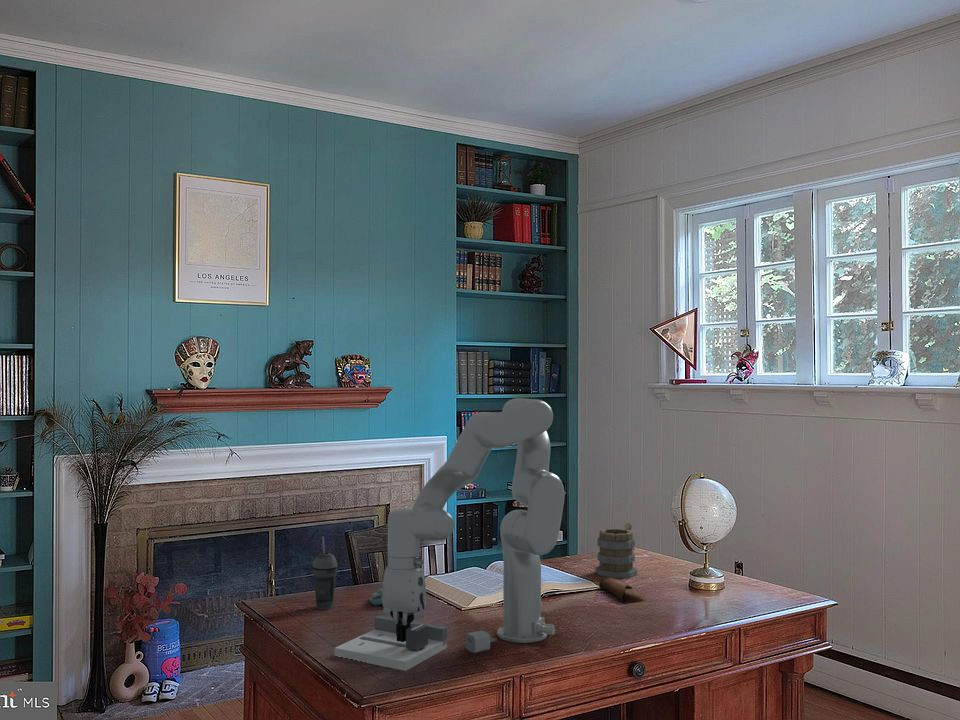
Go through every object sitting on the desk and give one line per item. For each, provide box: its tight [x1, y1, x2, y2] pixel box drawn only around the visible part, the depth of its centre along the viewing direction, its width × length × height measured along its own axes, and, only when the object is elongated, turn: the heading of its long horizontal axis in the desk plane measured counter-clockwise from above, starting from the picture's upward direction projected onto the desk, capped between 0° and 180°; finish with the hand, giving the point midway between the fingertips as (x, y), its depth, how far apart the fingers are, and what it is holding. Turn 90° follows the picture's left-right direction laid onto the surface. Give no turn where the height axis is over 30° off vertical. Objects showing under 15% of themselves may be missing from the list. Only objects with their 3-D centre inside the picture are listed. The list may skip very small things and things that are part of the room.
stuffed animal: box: [368, 586, 383, 607], centre depth 244 cm, size 11×7×12 cm
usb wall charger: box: [465, 630, 497, 654], centre depth 203 cm, size 4×7×4 cm, turn 125°
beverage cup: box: [311, 535, 339, 611], centre depth 239 cm, size 7×7×20 cm
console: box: [334, 615, 448, 672], centre depth 201 cm, size 20×18×5 cm
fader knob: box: [406, 624, 428, 650], centre depth 198 cm, size 3×5×4 cm, turn 151°
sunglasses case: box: [598, 577, 647, 604], centre depth 253 cm, size 18×7×7 cm
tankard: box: [594, 522, 638, 579], centre depth 282 cm, size 20×13×15 cm, turn 147°
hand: (403, 640), depth 199 cm, fingers closed
